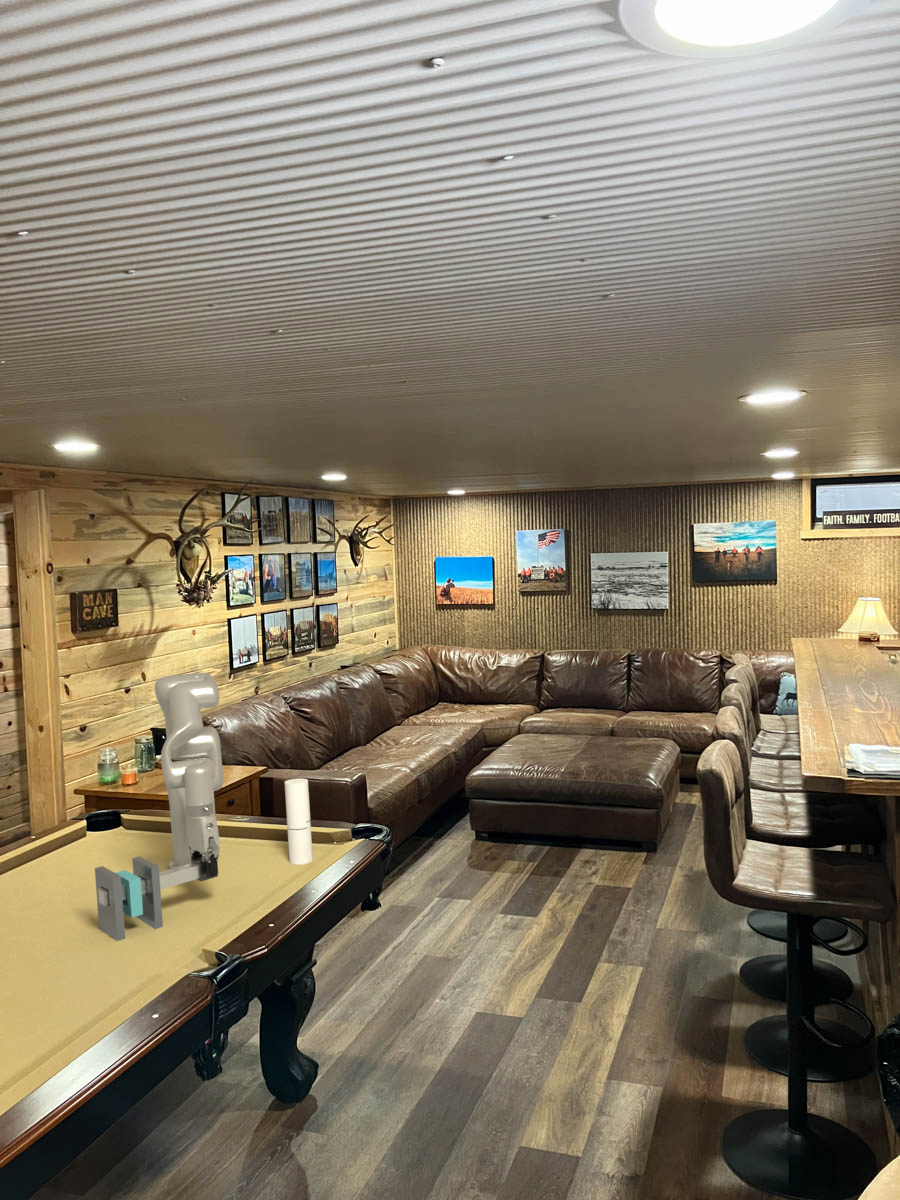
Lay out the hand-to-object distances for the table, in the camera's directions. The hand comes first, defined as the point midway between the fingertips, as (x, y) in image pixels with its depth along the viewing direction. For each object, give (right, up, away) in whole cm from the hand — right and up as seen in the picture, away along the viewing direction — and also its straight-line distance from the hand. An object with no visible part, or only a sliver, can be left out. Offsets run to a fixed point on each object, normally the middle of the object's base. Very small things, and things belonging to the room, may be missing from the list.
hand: (204, 872), depth 253 cm
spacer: (-16, -6, -14) cm, 22 cm away
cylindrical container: (+21, -7, +34) cm, 40 cm away
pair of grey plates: (-16, -10, -14) cm, 23 cm away
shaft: (-10, -2, -9) cm, 13 cm away
